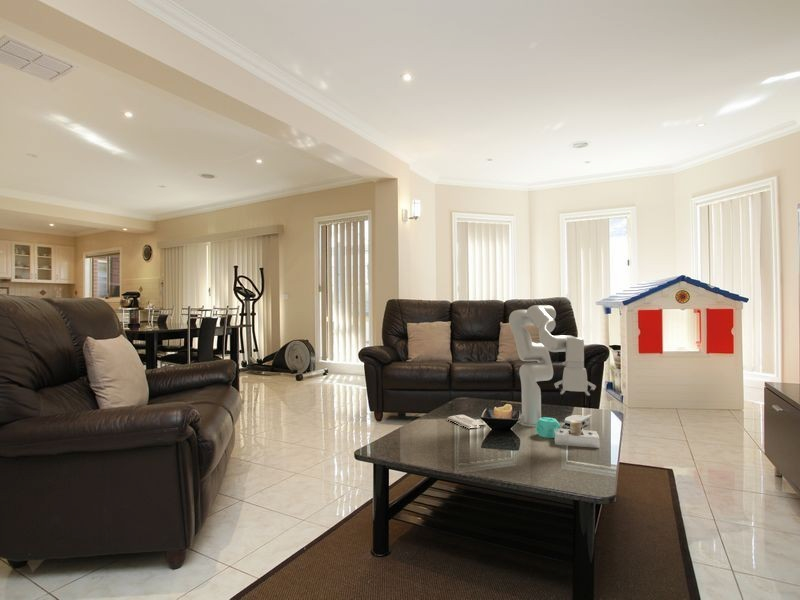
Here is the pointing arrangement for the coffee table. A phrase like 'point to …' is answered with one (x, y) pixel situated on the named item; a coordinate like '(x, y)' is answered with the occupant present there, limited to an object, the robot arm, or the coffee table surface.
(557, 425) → the decorative dice
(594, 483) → the coffee table surface
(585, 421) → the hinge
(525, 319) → the robot arm
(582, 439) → the rail block
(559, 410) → the coffee table surface
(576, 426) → the beech peg
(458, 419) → the newspaper
